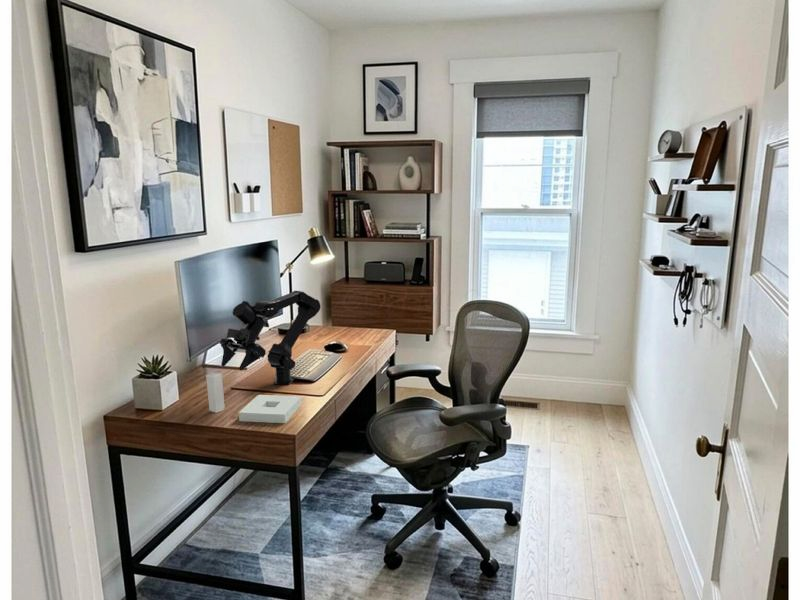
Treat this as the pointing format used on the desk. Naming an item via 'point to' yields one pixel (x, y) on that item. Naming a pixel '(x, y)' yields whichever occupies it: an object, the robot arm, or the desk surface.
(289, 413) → the socket
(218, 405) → the plug
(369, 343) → the desk surface
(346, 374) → the desk surface
